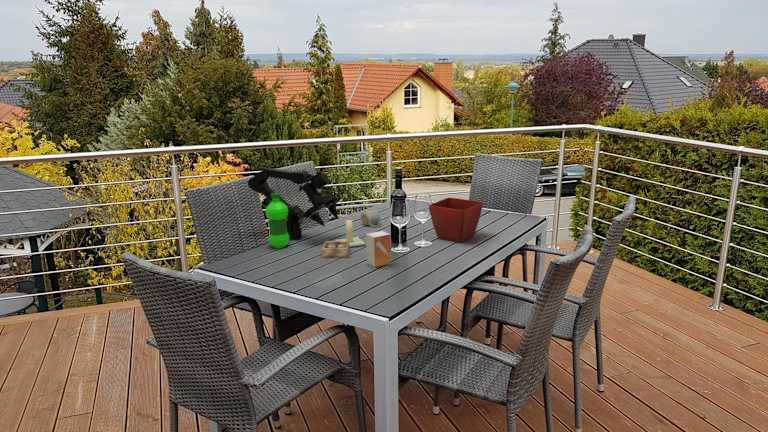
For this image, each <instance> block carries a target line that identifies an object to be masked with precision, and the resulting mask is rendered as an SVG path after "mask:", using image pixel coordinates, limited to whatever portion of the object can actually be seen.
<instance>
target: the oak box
mask: <svg viewBox="0 0 768 432" xmlns="http://www.w3.org/2000/svg"><path fill="white" fill-rule="evenodd" d="M321 249H322V251H321V252H322V253H321V254H322V259H326V258H328V259H329V258H331V259H333V258H334V259H335V258H349V257H350V256H349V255H350V251H351V247H350V241H334V240H328V241H324V243H323V246H322V248H321Z"/></svg>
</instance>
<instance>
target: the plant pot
mask: <svg viewBox="0 0 768 432" xmlns="http://www.w3.org/2000/svg"><path fill="white" fill-rule="evenodd" d="M483 204H484V203H483V201H477V200H471V199H463V198H457V197H447V198H444V199H442V200H439V201H436V202H433V203H430V204H428V209H429V214H430V218H431V223H432V225H433V228H434V232H435V233H436V236H437V238H438V239H440V240H445V241H450V242H454V243H460V244H461V243H463V242H464V241H468V240H469V239H470V238H473V237H474V235H475V233H476V231H477V227H478V226H479V222H480V218H481V214H482V210H483Z"/></svg>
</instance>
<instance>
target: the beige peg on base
mask: <svg viewBox="0 0 768 432" xmlns="http://www.w3.org/2000/svg"><path fill="white" fill-rule="evenodd" d="M353 229H354V228H353V220H352V219H347V220H345V234H346V235H345V237H346V238H339V239H334V240H333V241H350V248H353V247H360V246H361V247H362V246H367V245H366V242H365V241H363V240H362V239H361V238H360V237H359V236H354V233H353V232H354V230H353Z"/></svg>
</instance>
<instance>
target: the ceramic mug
mask: <svg viewBox="0 0 768 432" xmlns="http://www.w3.org/2000/svg"><path fill="white" fill-rule="evenodd" d="M360 220H361V223H362V224H363V225H364V226H370V227H371V228H379V227H380V226H381V215H380V212H379V211H378V210H377V209H371V210H368V211H364V212H362V213H361V215H360Z"/></svg>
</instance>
